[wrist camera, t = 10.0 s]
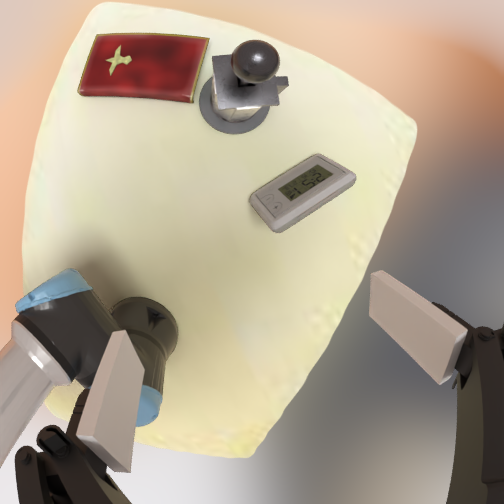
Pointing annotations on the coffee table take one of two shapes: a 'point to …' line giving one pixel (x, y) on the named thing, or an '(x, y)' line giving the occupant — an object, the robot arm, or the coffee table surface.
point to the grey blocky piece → (240, 93)
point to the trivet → (222, 125)
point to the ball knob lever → (254, 62)
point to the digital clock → (301, 192)
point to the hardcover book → (144, 66)
